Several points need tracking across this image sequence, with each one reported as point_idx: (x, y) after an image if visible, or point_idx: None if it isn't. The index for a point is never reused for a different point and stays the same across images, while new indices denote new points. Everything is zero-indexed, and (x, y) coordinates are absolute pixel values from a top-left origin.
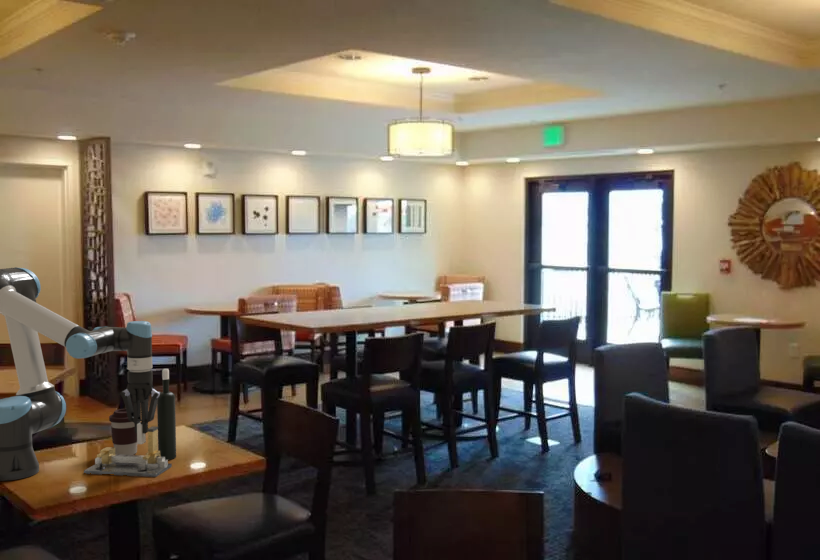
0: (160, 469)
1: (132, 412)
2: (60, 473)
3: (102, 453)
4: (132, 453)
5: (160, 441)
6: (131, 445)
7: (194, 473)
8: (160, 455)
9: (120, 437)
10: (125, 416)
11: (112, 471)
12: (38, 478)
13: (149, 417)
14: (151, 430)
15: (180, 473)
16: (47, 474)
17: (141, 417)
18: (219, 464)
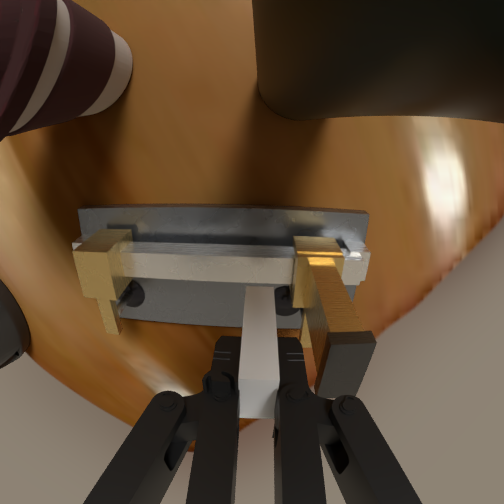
0: (348, 287)
1: (155, 453)
2: (55, 307)
3: (111, 317)
4: (126, 83)
5: (292, 114)
6: (108, 85)
7: (444, 273)
8: (283, 115)
9: (49, 124)
10: None
11: (189, 321)
12: (48, 339)
13: (344, 456)
14: (345, 391)
15: (408, 279)
16: (40, 314)
17: (275, 458)
18: (494, 178)
